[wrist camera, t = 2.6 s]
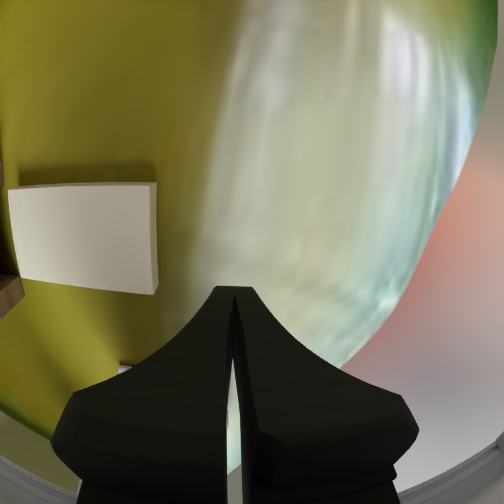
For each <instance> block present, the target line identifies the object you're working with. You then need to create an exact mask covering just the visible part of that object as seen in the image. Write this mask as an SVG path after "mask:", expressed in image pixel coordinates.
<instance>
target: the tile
mask: <svg viewBox="0 0 504 504" xmlns="http://www.w3.org/2000/svg"><path fill="white" fill-rule="evenodd" d="M156 192H157V182H86V183H61V184H43V185H29V186H19V187H16V188H13V189H10V190H8V200H9V210H10V219H11V227H12V234H13V240H14V246H15V251H16V256H17V261H18V266H19V270H20V275H21V278H27V279H33V280H39V281H45V282H51V283H58V284H65V285H72V286H79V287H86V288H94V289H102V290H110V291H119V292H128V293H138V294H148V295H154V293H155V291H156V289H157V287H158V285H159V280H158V262H157V229H156Z"/></svg>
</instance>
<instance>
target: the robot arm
mask: <svg viewBox="0 0 504 504" xmlns="http://www.w3.org/2000/svg"><path fill="white" fill-rule="evenodd" d="M232 359H233V362H234V371H235V379H236V386H237V394H238V402H239V411H240V431H241V463H242V492H243V493H242V494H243V504H504V431H503V432H502V433H501V435H500V436H499V437H498V438H497V439H496V441H495V442H493V443H492V444H490V445H489V446H488V447H486V448H484V449H483V450H482V451H480V452H478V453H477V454H475V455H474V456H472V457H470V458H469V459H467V460H465V461H464V462H462V463H460V464H458V465H457V466H455V467H453V468H451V469H450V470H447V471H446V472H444V473H442V474H440V475H438V476H436V477H434V478H432V479H430V480H427V481H426V482H423V483H421V484H418V485H416V486H414V487H411V488H409V489H407V490H404V491H402V492H399V493H397V492H396V489H395V486H394V484H393V481H392V480H394V479H395V478H396V476H397V473H396V471H395V468H394V466H393V465H394V464H395V463H396V461H398V459H400V458H401V456H402V455H403V454H404V453H405V452H406V451H407V450H408V449H409V448H410V447H411V446H412V444H413V443H414V442H415V440H416V438H417V435H418V432H419V427H418V425H417V423H416V421H415V419H414V417H413V415H412V413H411V411H410V409H409V408H408V406H407V404H406V403H405V401H404V399H403V398H402V396H401V395H399V394H396V393H393V392H390V391H387V390H385V389H382V388H379V387H377V386H374V385H371V384H368V383H366V382H364V381H362V380H360V379H358V378H356V377H353V376H351V375H349V374H347V373H345V372H343V371H342V370H340V369H338V368H336V367H335V366H333V365H331V364H330V363H328V362H327V361H325V360H323V359H322V358H320V357H319V356H317V355H316V354H314V353H313V352H312V351H310V350H309V349H308V348H306V347H305V346H304V345H303V344H301V343H300V342H299V341H298V340H297V339H295V338H294V337H293V336H292V335H291V334H290V333H289V332H288V331H287V330H286V329H285V328H284V327H283V326H282V325H281V324H280V323H279V321H278V320H277V319H276V318H275V317H274V316H273V314H272V313H271V312H270V311H269V310H268V308H267V307H266V306H265V304H264V303H263V302H262V300H261V299H260V297H259V296H258V294H257V293H256V291H255V290H254V289H253V287H241V286H216V287H215V288H214V289H213V291H212V292H211V294H210V296H209V297H208V299H207V300H206V302H205V303H204V304H203V306H202V307H201V308H200V309H199V311H198V312H197V313H196V314H195V316H194V317H193V318H192V319H191V320H190V321H189V322H188V323H187V324H186V326H185V327H184V328H183V329H182V330H181V331H180V332H179V333H178V334H177V335H176V336H175V337H173V338H172V339H171V340H170V341H169V342H168V343H166V344H165V345H164V346H163V347H162V348H160V349H159V350H158V351H156V352H155V353H153V354H152V355H150V356H149V357H148V358H146V359H145V360H143V361H142V362H140V363H138V364H137V365H135V366H133V367H131V366H124V365H121V366H119V368H118V371H119V374H118V375H116V376H114V377H112V378H110V379H108V380H105V381H103V382H100V383H98V384H95V385H93V386H90V387H87V388H85V389H82V390H79V391H76V392H74V393H73V395H72V396H71V398H70V400H69V401H68V403H67V405H66V406H65V408H64V411H63V413H62V415H61V417H60V420H59V422H58V424H57V427H56V429H55V431H54V434H53V436H52V438H51V441H50V442H51V445H52V448H53V450H54V452H55V453H56V455H57V456H58V457H59V458H60V460H61V461H62V462H63V463H64V464H65V465H67V466H68V467H69V468H70V469H71V470H72V471H73V472H74V473H75V474H76V475H77V476H78V477H79V478H80V482H79V486H78V490H77V494H76V493H74V492H71V491H69V490H66V489H64V488H61V487H59V486H57V485H54V484H52V483H50V482H48V481H46V480H44V479H42V478H40V477H38V476H36V475H33V474H32V473H30V472H28V471H26V470H24V469H22V468H21V467H19V466H17V465H15V464H14V463H12V462H10V461H9V460H7V459H5V458H4V457H2V456H1V455H0V504H228V497H227V428H228V410H227V404H228V395H229V386H230V377H231V368H232Z"/></svg>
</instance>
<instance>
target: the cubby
mask: <svg viewBox="0 0 504 504" xmlns="http://www.w3.org/2000/svg"><path fill="white" fill-rule="evenodd" d="M2 185H4V183H3V163H2V161H0V186H2ZM24 296H25V295H24V292H23V288H22V285H21V281H20V278H19V276H16V275H8V274H1V273H0V319H2V318H3V317H4V316H5V315H6V314H7V313H8V312H9V311H10V310H11V309H12V308H13V307H14V306H15V305H16V304H17V303H18V302H19V301H20V300H21V299H22V298H23V297H24Z"/></svg>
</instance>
